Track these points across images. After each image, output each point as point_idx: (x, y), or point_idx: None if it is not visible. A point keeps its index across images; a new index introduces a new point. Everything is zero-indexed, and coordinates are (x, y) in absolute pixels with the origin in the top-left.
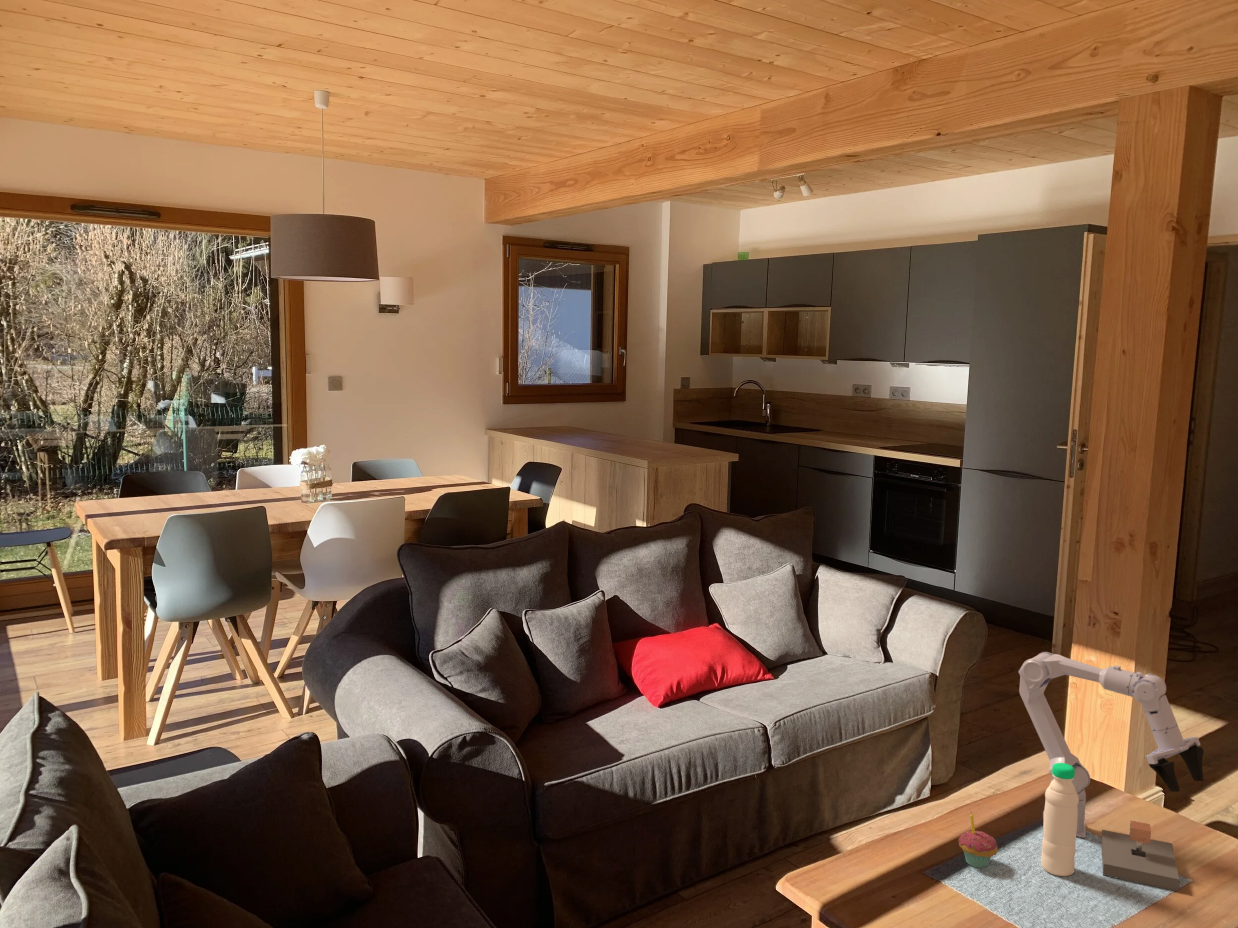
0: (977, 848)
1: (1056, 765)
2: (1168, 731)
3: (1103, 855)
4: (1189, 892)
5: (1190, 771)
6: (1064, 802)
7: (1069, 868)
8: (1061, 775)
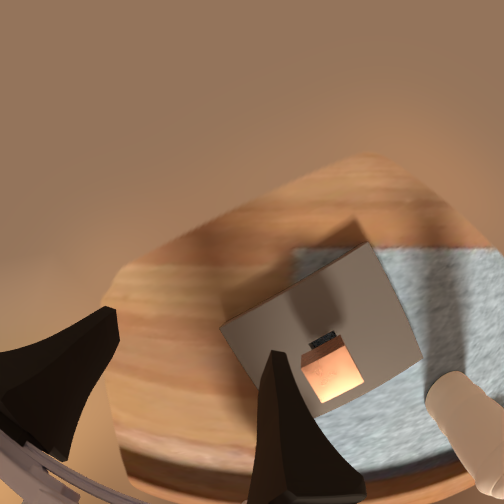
0: None
1: None
2: None
3: (393, 376)
4: (348, 228)
5: (100, 372)
6: None
7: (462, 375)
8: None
